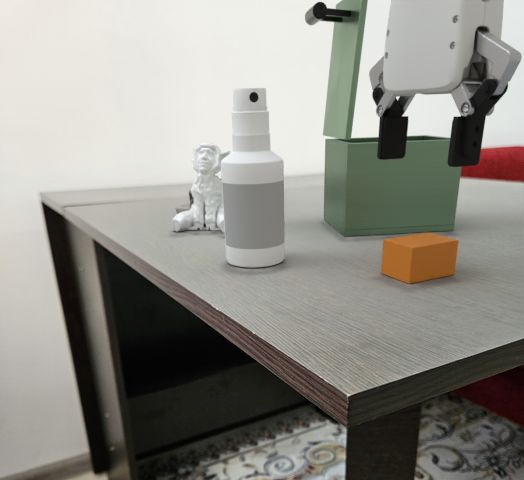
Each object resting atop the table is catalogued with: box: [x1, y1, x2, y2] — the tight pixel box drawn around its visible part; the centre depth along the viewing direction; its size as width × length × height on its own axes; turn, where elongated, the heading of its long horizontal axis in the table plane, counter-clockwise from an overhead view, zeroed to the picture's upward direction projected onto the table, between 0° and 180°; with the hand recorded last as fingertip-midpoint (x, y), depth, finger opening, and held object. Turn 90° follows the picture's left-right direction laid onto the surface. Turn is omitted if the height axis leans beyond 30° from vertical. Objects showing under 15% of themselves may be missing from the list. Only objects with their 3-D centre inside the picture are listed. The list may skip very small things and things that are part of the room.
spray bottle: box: [220, 87, 286, 269], centre depth 57 cm, size 7×7×18 cm
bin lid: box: [304, 0, 369, 140], centre depth 68 cm, size 16×13×6 cm
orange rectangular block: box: [380, 232, 459, 285], centre depth 54 cm, size 6×4×4 cm
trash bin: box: [323, 134, 462, 237], centre depth 75 cm, size 16×13×12 cm
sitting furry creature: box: [169, 141, 231, 234], centre depth 77 cm, size 10×9×12 cm
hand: (424, 162), depth 50 cm, fingers open, 9 cm apart
